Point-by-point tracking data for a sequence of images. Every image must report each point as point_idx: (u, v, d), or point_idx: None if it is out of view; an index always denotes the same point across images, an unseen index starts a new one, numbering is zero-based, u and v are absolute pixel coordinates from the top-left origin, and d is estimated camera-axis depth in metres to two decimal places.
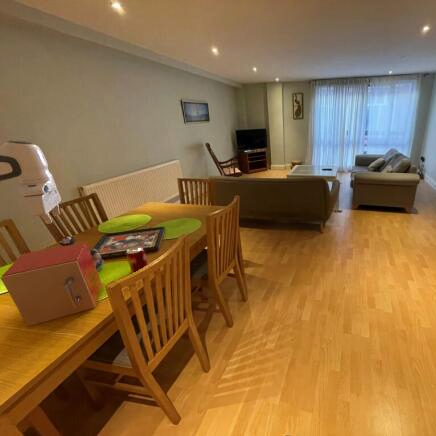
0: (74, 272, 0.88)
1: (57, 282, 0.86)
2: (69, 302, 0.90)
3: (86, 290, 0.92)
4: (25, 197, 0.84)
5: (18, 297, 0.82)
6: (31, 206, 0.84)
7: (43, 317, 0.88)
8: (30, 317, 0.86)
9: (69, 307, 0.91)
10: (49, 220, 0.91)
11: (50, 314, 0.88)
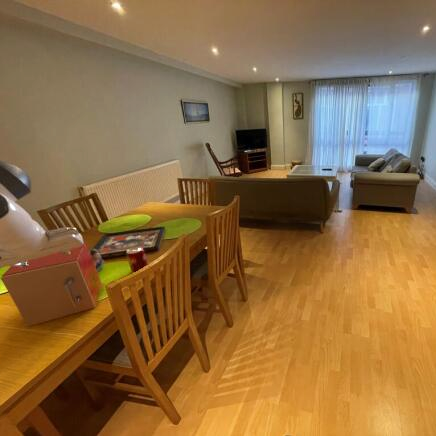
0: (74, 272, 0.88)
1: (57, 282, 0.86)
2: (69, 302, 0.90)
3: (86, 290, 0.92)
4: None
5: (18, 297, 0.82)
6: None
7: (43, 317, 0.88)
8: (30, 317, 0.86)
9: (69, 307, 0.91)
10: None
11: (50, 314, 0.88)
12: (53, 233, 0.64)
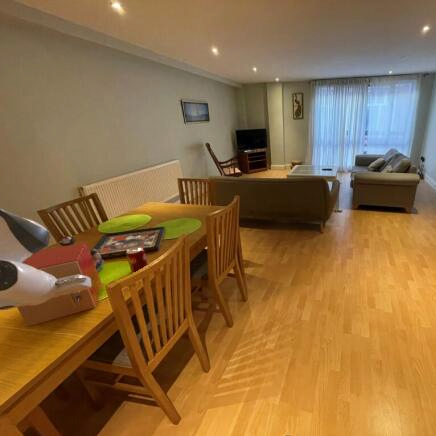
0: (74, 272, 0.88)
1: None
2: (69, 302, 0.90)
3: (86, 290, 0.92)
4: None
5: None
6: None
7: (43, 317, 0.88)
8: (30, 317, 0.86)
9: (69, 307, 0.91)
10: None
11: (50, 314, 0.88)
12: (62, 283, 0.69)
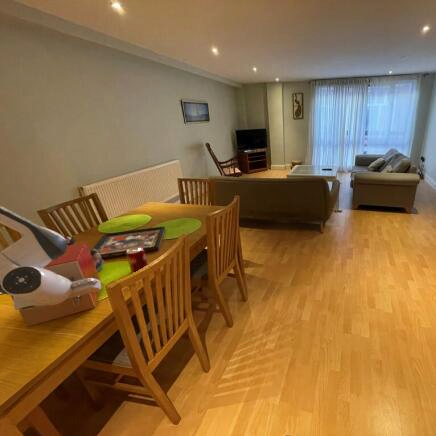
0: (74, 272, 0.88)
1: None
2: (69, 302, 0.90)
3: None
4: None
5: None
6: None
7: (43, 317, 0.88)
8: (30, 317, 0.86)
9: (69, 307, 0.91)
10: None
11: (50, 314, 0.88)
12: (76, 285, 0.77)
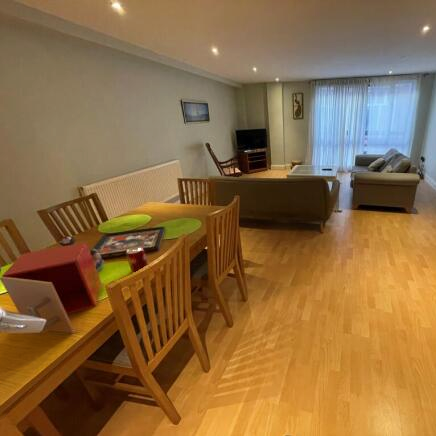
0: (49, 293, 0.77)
1: (38, 297, 0.79)
2: None
3: (62, 314, 0.80)
4: None
5: (14, 299, 0.81)
6: None
7: None
8: None
9: None
10: None
11: None
12: None
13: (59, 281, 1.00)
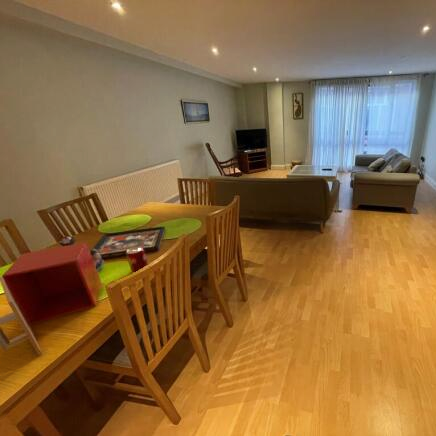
0: None
1: None
2: None
3: (27, 335, 0.73)
4: None
5: None
6: None
7: None
8: None
9: None
10: None
11: None
12: None
13: (59, 281, 1.00)
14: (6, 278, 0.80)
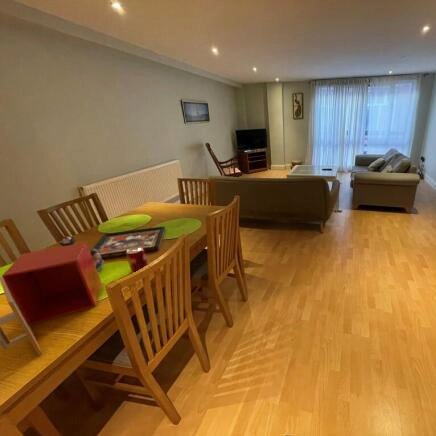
0: None
1: None
2: None
3: (27, 335, 0.73)
4: None
5: None
6: None
7: None
8: None
9: None
10: None
11: None
12: None
13: (59, 281, 1.00)
14: (6, 278, 0.80)
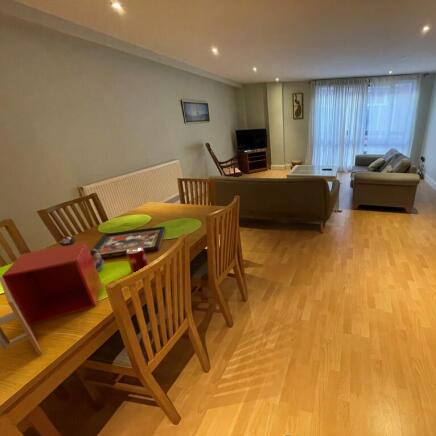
0: None
1: None
2: None
3: (27, 335, 0.73)
4: None
5: None
6: None
7: None
8: None
9: None
10: None
11: None
12: None
13: (59, 281, 1.00)
14: (6, 278, 0.80)
